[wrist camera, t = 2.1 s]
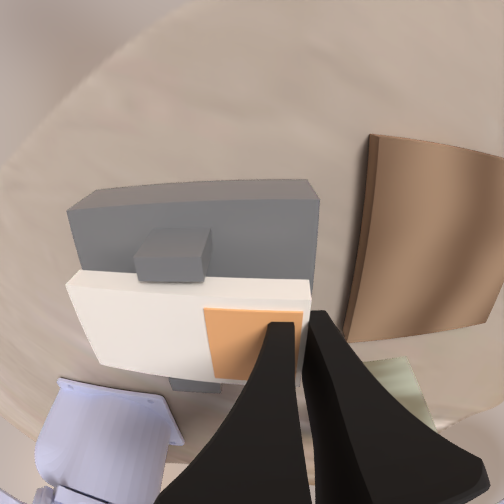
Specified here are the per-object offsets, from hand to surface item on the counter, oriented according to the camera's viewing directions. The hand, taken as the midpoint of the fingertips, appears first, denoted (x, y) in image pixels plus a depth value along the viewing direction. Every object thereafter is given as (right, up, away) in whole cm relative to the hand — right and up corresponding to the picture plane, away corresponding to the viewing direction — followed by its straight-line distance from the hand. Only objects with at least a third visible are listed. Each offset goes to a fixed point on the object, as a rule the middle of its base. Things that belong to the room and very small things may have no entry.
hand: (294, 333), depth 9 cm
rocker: (-4, 0, 0) cm, 4 cm away
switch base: (-4, +2, +4) cm, 6 cm away
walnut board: (+8, +3, +3) cm, 9 cm away
